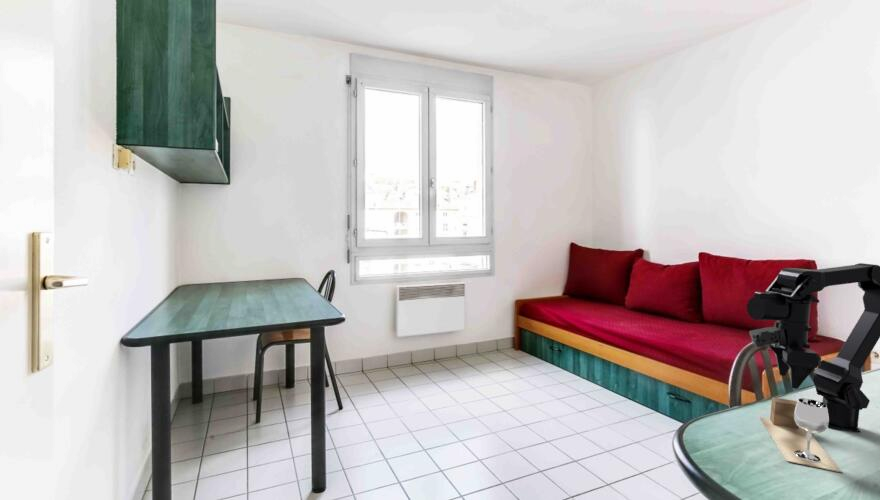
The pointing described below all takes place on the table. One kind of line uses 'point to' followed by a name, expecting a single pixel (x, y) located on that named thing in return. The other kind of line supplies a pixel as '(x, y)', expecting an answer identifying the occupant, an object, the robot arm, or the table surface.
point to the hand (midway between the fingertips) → (788, 381)
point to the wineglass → (810, 423)
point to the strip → (794, 435)
